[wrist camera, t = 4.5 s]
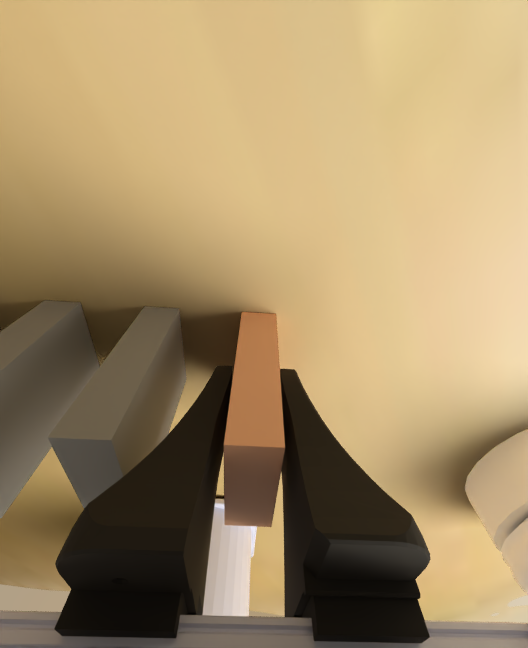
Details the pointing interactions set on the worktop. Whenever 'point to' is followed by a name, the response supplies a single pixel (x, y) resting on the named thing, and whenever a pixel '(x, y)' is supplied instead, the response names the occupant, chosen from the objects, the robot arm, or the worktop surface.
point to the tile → (254, 425)
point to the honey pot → (504, 501)
